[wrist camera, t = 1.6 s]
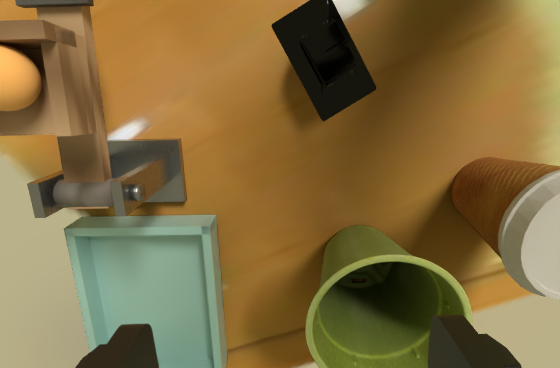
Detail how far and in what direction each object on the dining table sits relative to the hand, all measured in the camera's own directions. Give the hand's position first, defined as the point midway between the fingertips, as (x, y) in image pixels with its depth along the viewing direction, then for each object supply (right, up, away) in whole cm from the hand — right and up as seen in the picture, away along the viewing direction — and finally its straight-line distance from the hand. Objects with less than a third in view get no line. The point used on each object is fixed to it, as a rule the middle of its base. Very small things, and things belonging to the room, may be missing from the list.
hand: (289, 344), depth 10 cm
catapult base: (-14, +6, +23) cm, 27 cm away
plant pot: (+8, -3, +25) cm, 27 cm away
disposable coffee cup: (+19, +4, +23) cm, 31 cm away
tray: (-13, -7, +27) cm, 31 cm away
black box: (+4, +16, +21) cm, 27 cm away
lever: (-14, +12, +14) cm, 23 cm away
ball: (-14, +10, +7) cm, 18 cm away
